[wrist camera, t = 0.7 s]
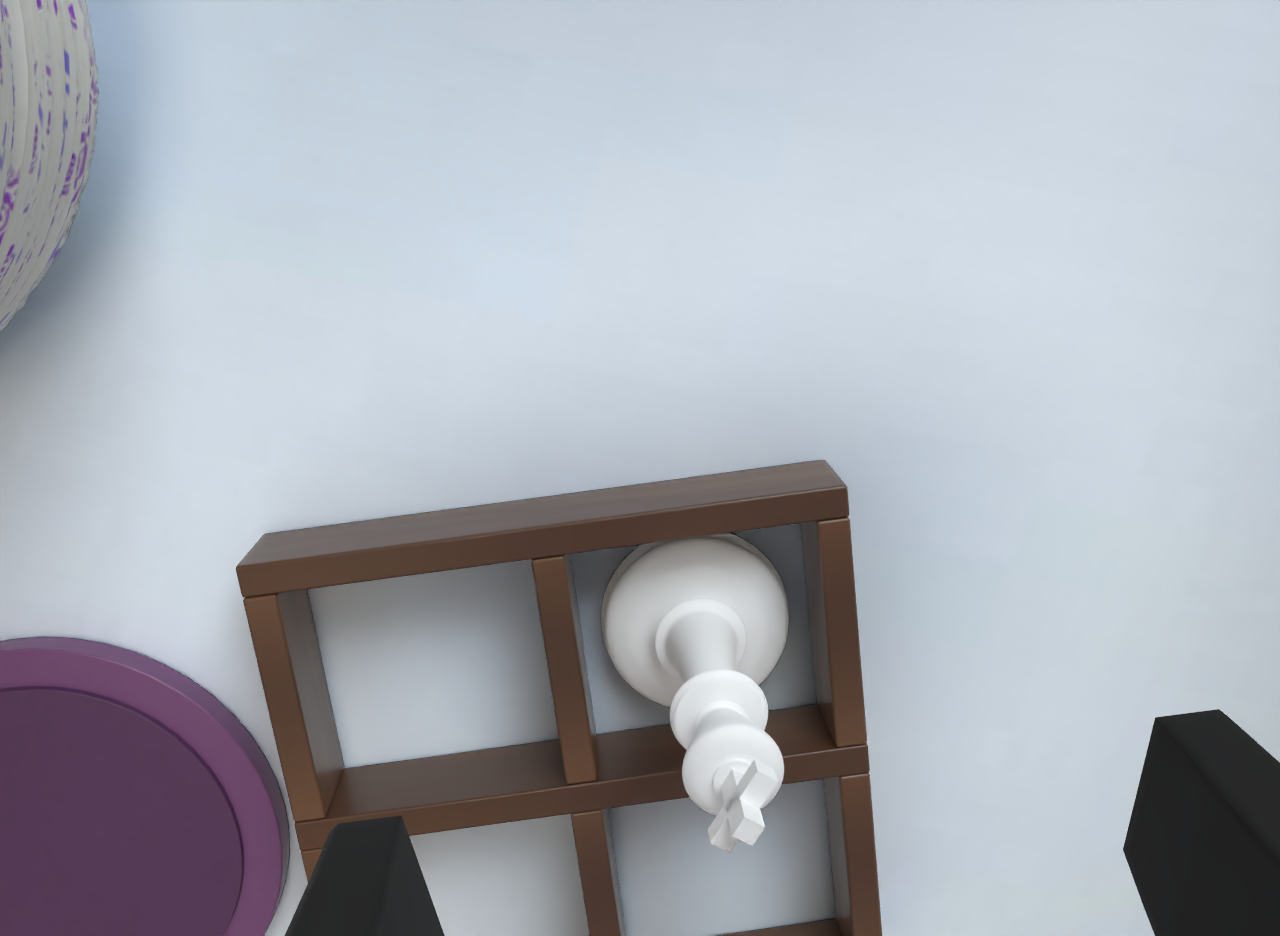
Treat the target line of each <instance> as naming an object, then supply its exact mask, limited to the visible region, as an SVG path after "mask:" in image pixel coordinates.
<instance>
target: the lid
mask: <svg viewBox="0 0 1280 936" xmlns="http://www.w3.org/2000/svg"><path fill="white" fill-rule="evenodd" d="M288 862H289V829H288V822H287V816H286V809H285V805H284V802H283V799H282V795H281V792H280V789H279V786H278V783H277V780H276V778H275V776H274V774H273V772H272V770H271V768H270V766H269V763H268V761H267V759H266V757H265V756H264V754H263V753H262V751H261V750H260V748H259V747H258V745H257V744H256V742H255V740H254V739H253V737H252V736H251V735H250V733H249V732H248V731H247V730H246V729H245V728H244V726H243V725H242V724H241V723H240V722H239V720H238V719H237V718H236V717H235V716H234V715H233V714H232V713H231V712H230V711H229V710H228V709H227V708H226V707H225V706H224V705H223V704H221V703H220V702H219V701H218V700H217V699H216V698H215V697H214V696H213V695H212V694H210V693H209V692H207V691H206V690H205V689H203V688H202V687H200V686H199V685H198V684H196V683H195V682H193V681H192V680H191V679H189V678H188V677H186V676H184V675H182V674H181V673H179V672H177V671H175V670H173V669H171V668H170V667H168V666H166V665H164V664H162V663H160V662H158V661H155V660H153V659H150V658H148V657H146V656H143V655H141V654H138V653H136V652H133V651H130V650H126V649H123V648H119V647H116V646H112V645H109V644H105V643H99V642H93V641H87V640H81V639H75V638H55V637H37V638H23V639H12V640H7V641H1V642H0V936H264V935H265V933H266V931H267V929H268V927H269V925H270V923H271V921H272V918H273V916H274V914H275V911H276V909H277V906H278V904H279V901H280V897H281V894H282V891H283V888H284V884H285V881H286V875H287V868H288Z"/></svg>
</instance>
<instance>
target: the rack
mask: <svg viewBox="0 0 1280 936" xmlns="http://www.w3.org/2000/svg"><path fill="white" fill-rule="evenodd" d="M848 516H849V504H848V491H847V486H846V485H845V483H844V482H843V481H842V480H841V479H840V477H839V476H838V475H837V474H836V473H835V471H834V470H833V469H832V468H831V467H830V465H829V464H828V463H827V462H826V461H825V460H817V461H810V462H802V463H795V464H787V465H780V466H772V467H765V468H757V469H750V470H742V471H735V472H727V473H719V474H712V475H704V476H697V477H689V478H682V479H674V480H667V481H659V482H652V483H644V484H637V485H629V486H622V487H614V488H607V489H599V490H592V491H584V492H577V493H569V494H562V495H554V496H547V497H539V498H532V499H524V500H516V501H509V502H501V503H494V504H486V505H479V506H471V507H464V508H456V509H449V510H441V511H434V512H426V513H419V514H411V515H404V516H396V517H389V518H381V519H374V520H366V521H359V522H351V523H344V524H336V525H329V526H321V527H314V528H306V529H298V530H291V531H283V532H276V533H268V534H264V535H263V536H262V537H261V538H260V540H259V541H258V542H257V543H256V544H255V545H254V547H253V548H252V549H251V550H250V551H249V552H248V554H247V555H246V556H245V557H244V558H243V559H242V561H241V562H240V563H239V564H238V565H237V567H236V572H237V576H238V581H239V585H240V589H241V594H242V596H243V597H245V598H244V600H243V602H244V606H245V611H246V615H247V619H248V624H249V628H250V632H251V637H252V641H253V645H254V650H255V654H256V658H257V663H258V667H259V671H260V676H261V680H262V684H263V689H264V693H265V697H266V702H267V706H268V710H269V715H270V719H271V723H272V728H273V732H274V736H275V741H276V745H277V749H278V754H279V758H280V762H281V767H282V771H283V775H284V780H285V784H286V788H287V793H288V797H289V801H290V806H291V810H292V814H293V819H294V821H295V829H296V833H297V838H298V842H299V846H300V850H302V851H301V854H302V859H303V863H304V867H305V872H306V876H307V880H308V882H309V880H310V878H311V875H312V873H313V871H314V868H315V866H316V864H317V861H318V859H319V856H320V854H321V851H322V849H323V846H324V844H325V842H326V839H327V837H328V834H329V832H330V831H331V830H332V829H333V828H334V827H335V826H336V825H337V824H339V823H347V822H354V821H362V820H370V819H377V818H385V817H393V816H401V815H402V818H403V821H404V824H405V826H406V829H407V832H408V835H409V836H411V835H419V834H426V833H433V832H440V831H448V830H455V829H462V828H469V827H477V826H484V825H491V824H498V823H506V822H513V821H520V820H527V819H535V818H542V817H549V816H556V815H564V814H571V819H572V826H573V832H574V839H575V845H576V851H577V858H578V864H579V870H580V877H581V883H582V889H583V896H584V902H585V908H586V915H587V921H588V927H589V934H590V936H626V930H625V923H624V917H623V910H622V903H621V896H620V890H619V883H618V876H617V869H616V863H615V856H614V849H613V842H612V835H611V829H610V822H609V815H608V808H614V807H622V806H629V805H636V804H643V803H651V802H658V801H665V800H672V799H680V798H687V797H689V795H688V793H687V792H686V789H685V787H684V783H683V779H682V765H683V760H684V756H685V754H686V751H687V750H686V749H685V748H684V747H683V746H682V745H681V744H680V743H679V742H678V740H677V739H676V737H675V735H674V733H673V731H672V728H671V724H669V725H661V726H654V727H647V728H640V729H632V730H625V731H618V732H610V733H603V734H596V728H595V721H594V714H593V707H592V701H591V694H590V687H589V680H588V674H587V667H586V660H585V653H584V647H583V640H582V633H581V626H580V620H579V613H578V606H577V599H576V593H575V586H574V579H573V572H572V566H571V559H570V554H573V553H581V552H588V551H596V550H603V549H611V548H618V547H626V546H633V545H641V544H648V543H656V542H663V541H670V540H678V539H685V538H693V537H700V536H708V535H715V534H723V533H730V532H738V531H745V530H753V529H760V528H768V527H775V526H782V525H790V524H797V523H801V534H802V545H803V556H804V567H805V578H806V589H807V600H808V611H809V622H810V633H811V644H812V655H813V666H814V677H815V688H816V699H817V704H815V705H808V706H800V707H793V708H786V709H778V710H771V711H768V720H767V724H766V727H765V730H764V731H765V732H766V733H767V734H768V735H769V736H770V737H771V738H772V739H773V740H774V741H775V743H776V744H777V746H778V747H779V750H780V752H781V754H782V757H783V762H784V776H783V781H782V784H788V783H796V782H803V781H810V780H817V779H824V787H825V798H826V809H827V820H828V831H829V842H830V853H831V864H832V875H833V886H834V897H835V908H836V918H837V919H832V920H825V921H817V922H810V923H803V924H796V925H789V926H782V927H775V928H767V929H760V930H753V931H746V932H739V933H732V934H725V935H717V936H882V926H881V913H880V900H879V888H878V875H877V862H876V849H875V837H874V824H873V811H872V799H871V786H870V774H869V770H870V769H869V757H868V746H867V743H866V742H867V734H866V721H865V708H864V696H863V683H862V670H861V657H860V645H859V632H858V619H857V606H856V594H855V581H854V568H853V556H852V543H851V530H850V520H849V518H848ZM529 559H531V565H532V572H533V578H534V584H535V591H536V597H537V603H538V610H539V616H540V622H541V629H542V635H543V641H544V648H545V654H546V660H547V667H548V673H549V679H550V686H551V692H552V698H553V705H554V711H555V717H556V724H557V730H558V736H559V740H552V741H544V742H537V743H530V744H523V745H515V746H508V747H501V748H493V749H486V750H479V751H471V752H464V753H457V754H449V755H442V756H435V757H427V758H420V759H413V760H405V761H398V762H391V763H384V764H376V765H369V766H362V767H354V768H347V769H344V763H343V758H342V753H341V749H340V744H339V739H338V735H337V730H336V725H335V721H334V716H333V711H332V707H331V702H330V697H329V693H328V688H327V683H326V679H325V674H324V669H323V665H322V660H321V655H320V651H319V646H318V641H317V637H316V632H315V627H314V623H313V618H312V613H311V609H310V604H309V599H308V595H307V590H306V589H312V588H320V587H327V586H334V585H342V584H349V583H357V582H364V581H372V580H379V579H387V578H394V577H402V576H409V575H417V574H424V573H432V572H439V571H446V570H454V569H461V568H469V567H476V566H484V565H491V564H499V563H506V562H514V561H521V560H529Z"/></svg>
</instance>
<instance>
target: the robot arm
mask: <svg viewBox="0 0 1280 936" xmlns="http://www.w3.org/2000/svg"><path fill="white" fill-rule="evenodd" d="M1123 851H1124V853H1125V856H1126V859H1127V862H1128V864H1129V867H1130V870H1131V873H1132V875H1133V878H1134V881H1135V884H1136V886H1137V889H1138V892H1139V895H1140V897H1141V900H1142V903H1143V906H1144V908H1145V911H1146V913H1147V916H1148V918H1149V921H1150V924H1151V926H1152V929H1153V931H1154V934H1155V936H1280V763H1279V762H1278V761H1277V760H1276V759H1275V758H1274V757H1273V756H1272V755H1270V754H1269V753H1268V752H1267V751H1266V750H1265V749H1264V748H1263V747H1262V746H1260V745H1259V744H1258V743H1257V742H1256V741H1255V740H1254V739H1253V738H1251V737H1250V736H1249V735H1248V734H1247V733H1246V732H1245V731H1244V730H1242V729H1241V728H1240V727H1239V726H1238V725H1237V724H1236V723H1235V722H1233V721H1232V720H1231V719H1230V718H1229V717H1228V716H1227V715H1225V714H1224V713H1223V712H1222V711H1220V710H1219V709H1218V710H1210V711H1203V712H1195V713H1187V714H1179V715H1172V716H1164V717H1156V718H1155V721H1154V725H1153V729H1152V733H1151V738H1150V742H1149V746H1148V750H1147V754H1146V758H1145V762H1144V766H1143V770H1142V774H1141V778H1140V783H1139V787H1138V791H1137V795H1136V799H1135V803H1134V807H1133V811H1132V815H1131V819H1130V823H1129V827H1128V832H1127V836H1126V840H1125V844H1124V848H1123ZM285 936H444V933H443V930H442V928H441V925H440V922H439V919H438V916H437V914H436V911H435V908H434V905H433V902H432V900H431V897H430V894H429V891H428V888H427V885H426V883H425V880H424V877H423V874H422V871H421V869H420V866H419V863H418V860H417V857H416V854H415V852H414V849H413V846H412V843H411V840H410V838H409V835H408V832H407V829H406V826H405V824H404V821H403V818H402V815H401V816H393V817H385V818H377V819H370V820H362V821H354V822H347V823H339V824H337V825H336V826H335V827H334V828H333V829H332V830H331V831H330V832H329V834H328V837H327V839H326V842H325V844H324V846H323V849H322V851H321V854H320V856H319V859H318V861H317V864H316V866H315V868H314V871H313V873H312V875H311V878H310V880H309V882H308V885H307V887H306V889H305V892H304V894H303V896H302V898H301V901H300V903H299V905H298V907H297V910H296V912H295V914H294V916H293V919H292V921H291V923H290V925H289V927H288V930H287V932H286V934H285Z"/></svg>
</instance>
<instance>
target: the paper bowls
mask: <svg viewBox="0 0 1280 936" xmlns="http://www.w3.org/2000/svg"><path fill="white" fill-rule="evenodd" d="M97 82H98V68H97V65H96V62H95V51H94V45H93V40H92V34H91V29H90V23H89V15H88V8H87V4H86V0H0V330H2V329H3V328H4V327H5V326H6V325H7V324H8V323H9V322H10V321H11V319H12V317H13V315H14V313H16V312H17V311H18V310H20V309H21V308H23V307H24V305H25V303H26V301H27V297H28V295H29V294H30V293H31V292H32V291H33V290H34V289H35V288H36V287H37V286H38V285H39V283H40V282H41V280H42V278H43V277H44V275H45V273H46V272H47V270H48V269H49V267H50V266H51V264H52V263H53V261H54V259H55V258H56V256H57V254H58V253H59V251H60V250H61V248H62V245H63V244H64V242H65V241H66V240H67V238H68V234H69V231H70V227H71V224H72V221H73V219H74V217H75V215H76V213H77V210H78V208H79V203H80V197H81V195H82V192H83V190H84V188H85V186H86V184H87V180H88V173H89V167H90V162H91V158H92V154H93V152H94V146H95V128H96V123H97V117H96V116H97V108H98V101H97V97H98V95H99V90H98V88H97V87H96V85H97Z"/></svg>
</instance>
